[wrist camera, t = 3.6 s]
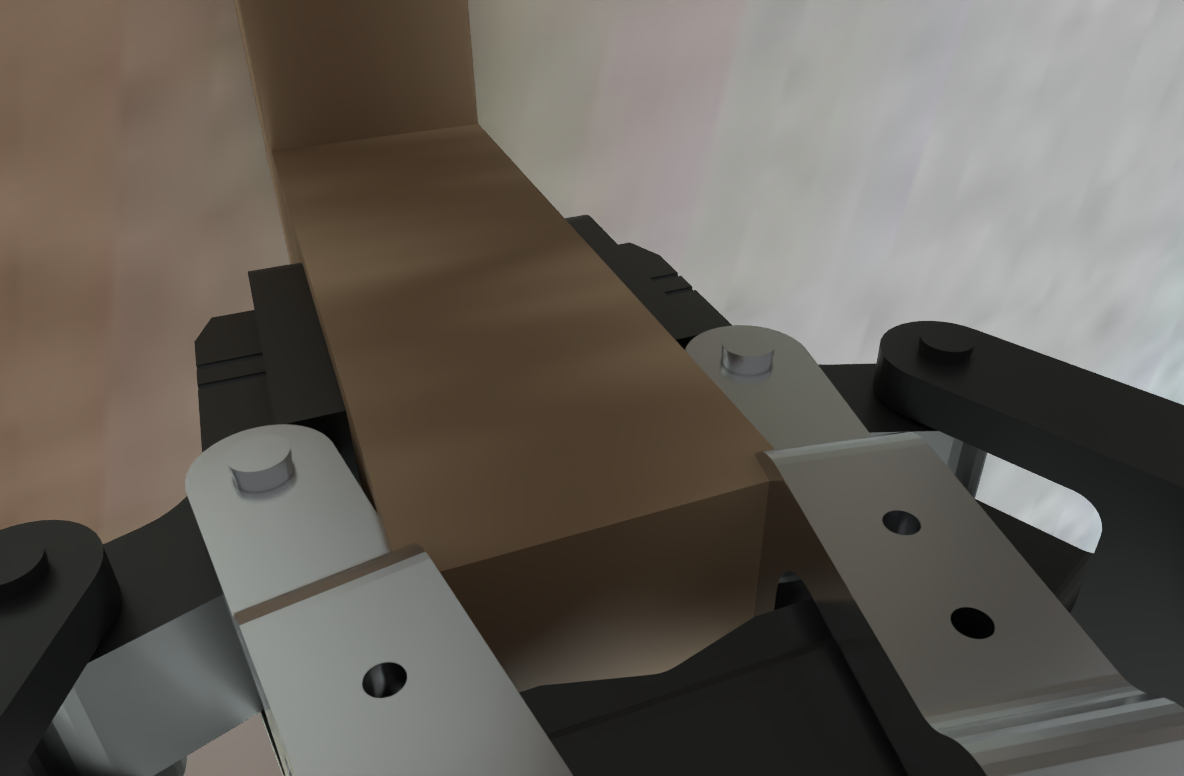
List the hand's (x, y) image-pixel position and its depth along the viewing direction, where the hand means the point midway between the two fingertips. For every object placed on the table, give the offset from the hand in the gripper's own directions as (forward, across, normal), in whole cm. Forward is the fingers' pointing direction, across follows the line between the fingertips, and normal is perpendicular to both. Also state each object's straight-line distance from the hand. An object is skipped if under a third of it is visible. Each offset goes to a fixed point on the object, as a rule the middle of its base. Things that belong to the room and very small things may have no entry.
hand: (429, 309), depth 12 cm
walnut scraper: (+6, 0, 0) cm, 6 cm away
